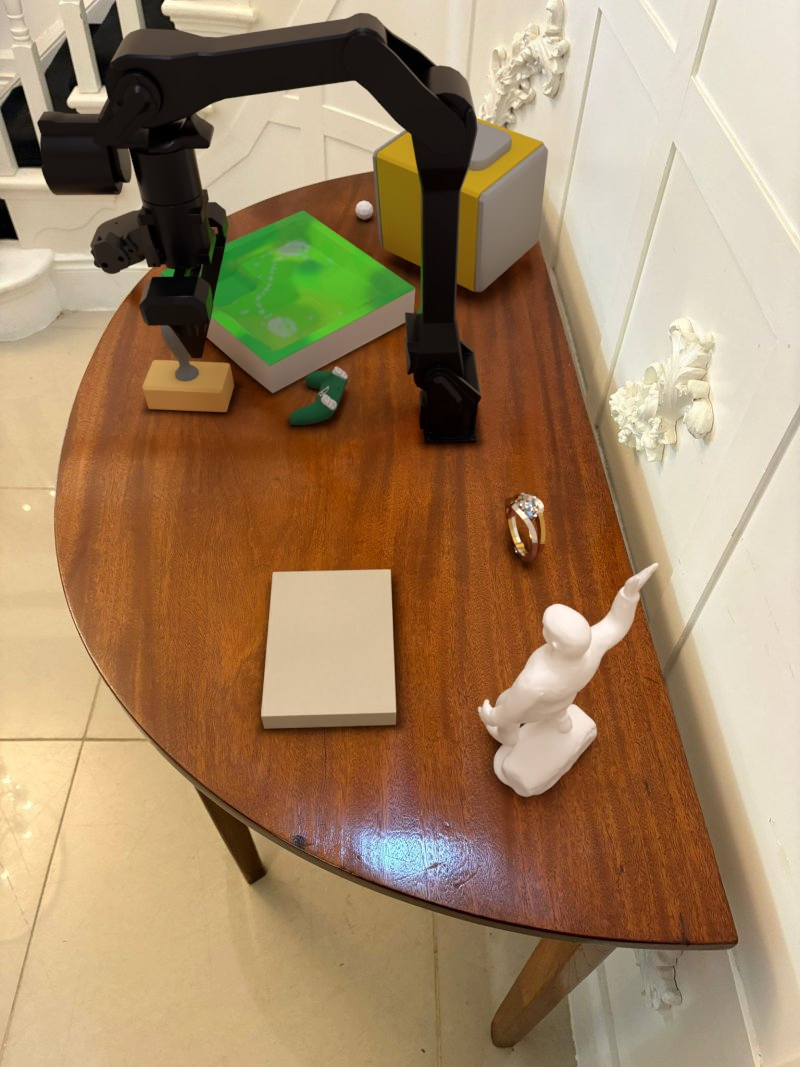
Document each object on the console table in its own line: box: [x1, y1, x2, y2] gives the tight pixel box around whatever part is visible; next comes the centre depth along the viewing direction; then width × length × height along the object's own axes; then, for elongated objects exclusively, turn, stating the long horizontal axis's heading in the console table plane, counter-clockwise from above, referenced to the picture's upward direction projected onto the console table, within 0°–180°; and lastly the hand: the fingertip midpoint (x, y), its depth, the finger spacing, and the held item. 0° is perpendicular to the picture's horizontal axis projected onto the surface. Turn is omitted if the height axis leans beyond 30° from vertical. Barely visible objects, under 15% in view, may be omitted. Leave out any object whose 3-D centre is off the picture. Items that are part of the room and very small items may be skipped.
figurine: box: [477, 562, 659, 798], centre depth 60 cm, size 12×8×25 cm
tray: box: [159, 210, 416, 394], centre depth 109 cm, size 25×25×5 cm
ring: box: [504, 492, 547, 562], centre depth 81 cm, size 7×3×8 cm, turn 15°
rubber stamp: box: [141, 325, 235, 413], centre depth 95 cm, size 10×6×12 cm, turn 87°
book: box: [260, 568, 397, 730], centre depth 75 cm, size 12×16×2 cm
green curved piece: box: [288, 366, 349, 426], centre depth 97 cm, size 9×4×6 cm
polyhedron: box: [354, 200, 374, 221], centre depth 128 cm, size 3×3×3 cm
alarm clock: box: [372, 117, 549, 293], centre depth 111 cm, size 20×16×18 cm
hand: (202, 331), depth 85 cm, fingers open, 9 cm apart
